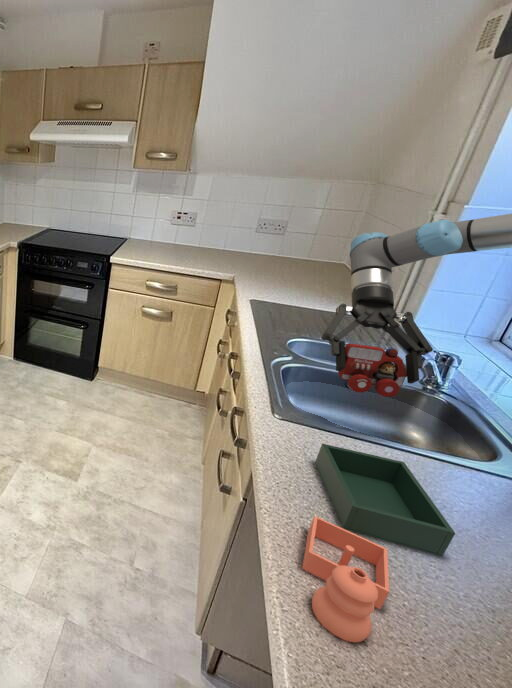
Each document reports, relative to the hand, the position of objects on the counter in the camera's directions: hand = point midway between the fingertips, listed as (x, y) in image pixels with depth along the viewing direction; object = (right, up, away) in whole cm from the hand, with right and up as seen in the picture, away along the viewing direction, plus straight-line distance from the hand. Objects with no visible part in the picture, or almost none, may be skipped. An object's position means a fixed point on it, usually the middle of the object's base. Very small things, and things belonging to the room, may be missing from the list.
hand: (376, 375), depth 92 cm
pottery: (-33, -28, -29) cm, 52 cm away
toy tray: (-14, -22, -14) cm, 30 cm away
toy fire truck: (+1, -4, +4) cm, 5 cm away
